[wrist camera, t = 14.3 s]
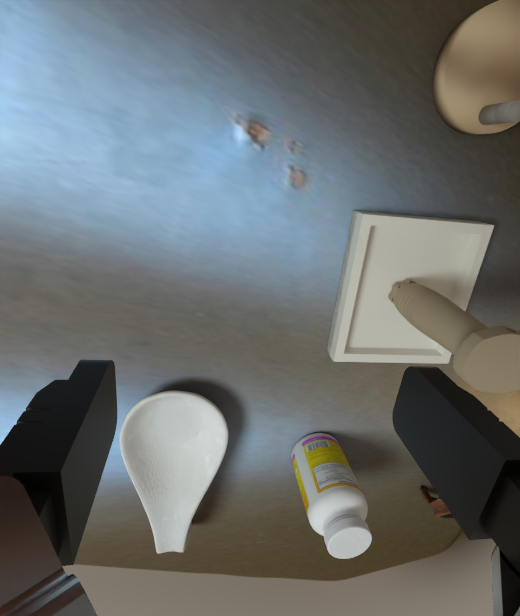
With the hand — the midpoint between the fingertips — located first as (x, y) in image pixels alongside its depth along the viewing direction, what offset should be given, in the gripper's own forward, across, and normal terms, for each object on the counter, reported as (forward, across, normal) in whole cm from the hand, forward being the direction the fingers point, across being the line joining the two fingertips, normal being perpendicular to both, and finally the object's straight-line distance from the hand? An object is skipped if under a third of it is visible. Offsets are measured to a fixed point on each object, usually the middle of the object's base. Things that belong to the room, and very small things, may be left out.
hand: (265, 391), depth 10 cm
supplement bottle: (+28, -14, +29) cm, 43 cm away
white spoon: (+28, +4, +30) cm, 41 cm away
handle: (+27, -20, +6) cm, 34 cm away
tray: (+28, -20, +6) cm, 35 cm away
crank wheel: (+28, -23, -15) cm, 39 cm away
